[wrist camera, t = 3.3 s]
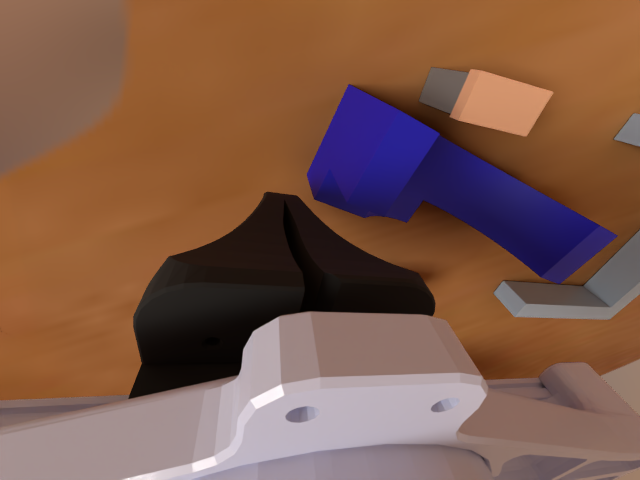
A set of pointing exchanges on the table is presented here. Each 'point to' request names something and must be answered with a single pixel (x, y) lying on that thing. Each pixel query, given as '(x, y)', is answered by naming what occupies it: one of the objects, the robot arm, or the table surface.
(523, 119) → the posts
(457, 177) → the blue stepped bar
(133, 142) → the table surface
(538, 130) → the table surface
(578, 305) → the grey bent bracket
